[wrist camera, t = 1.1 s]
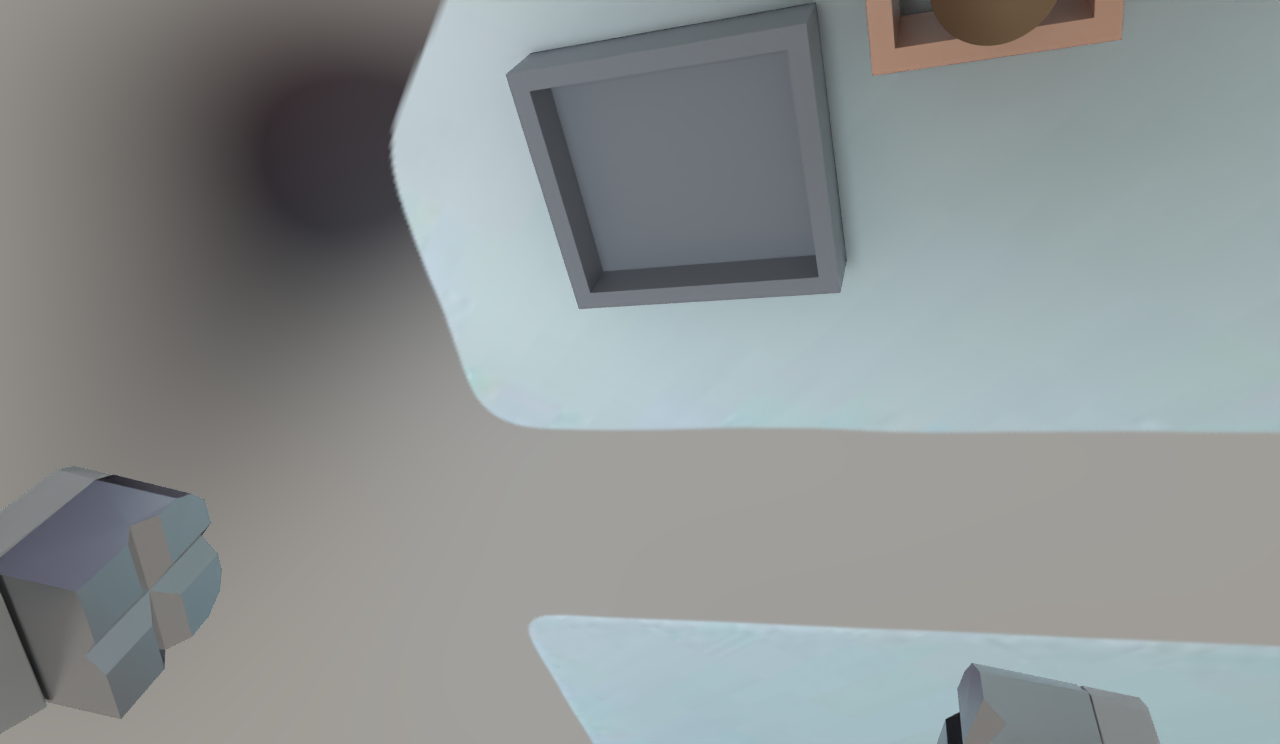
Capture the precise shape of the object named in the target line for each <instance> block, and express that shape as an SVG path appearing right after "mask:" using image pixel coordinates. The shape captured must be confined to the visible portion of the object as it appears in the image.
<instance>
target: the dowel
mask: <svg viewBox="0 0 1280 744" xmlns="http://www.w3.org/2000/svg"><path fill="white" fill-rule="evenodd" d="M1056 2H1057V0H931V4H932V8H933V11H934V13H935V16H936V17H937V19H938V21H939V22H940V24H941V25H942V26H943V27H944V29H945V30H946V31H948V32H949V33H950V34H951V35H953V36H954V37H956V38H957V39H959V40H961V41H963V42H966V43H969V44H973V45H979V46H993V45H1000V44H1005V43H1008V42H1011V41H1014V40H1016V39H1018V38H1020V37H1022V36H1024V35H1026V34H1027V33H1029V32H1030V31H1032V30H1033V29H1034V28H1036V27H1037V26H1038V25H1039V24H1040V23H1041V22H1042V21H1043V20H1044V19H1045V18H1046V17H1047V15H1048V14H1049V13H1050V12H1051V10H1052V9H1053V7H1054V6H1055V4H1056Z"/></svg>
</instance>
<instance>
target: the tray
mask: <svg viewBox="0 0 1280 744" xmlns="http://www.w3.org/2000/svg"><path fill="white" fill-rule="evenodd" d="M506 77H507V80H508V84H509V87H510V90H511V93H512V96H513V100H514V103H515V106H516V109H517V112H518V116H519V119H520V122H521V125H522V128H523V132H524V135H525V138H526V141H527V144H528V148H529V151H530V154H531V157H532V160H533V164H534V167H535V170H536V173H537V176H538V180H539V183H540V186H541V189H542V192H543V196H544V199H545V202H546V205H547V208H548V212H549V215H550V218H551V221H552V224H553V228H554V231H555V234H556V237H557V240H558V244H559V247H560V250H561V253H562V256H563V260H564V263H565V266H566V269H567V272H568V276H569V279H570V282H571V285H572V288H573V292H574V295H575V298H576V301H577V304H578V308H579V309H587V308H603V307H619V306H635V305H651V304H667V303H683V302H699V301H715V300H731V299H747V298H763V297H779V296H795V295H811V294H827V293H840V292H841V287H842V282H843V277H844V271H845V266H846V261H847V259H846V251H845V242H844V234H843V226H842V217H841V209H840V201H839V192H838V184H837V176H836V168H835V159H834V151H833V143H832V134H831V126H830V118H829V109H828V101H827V93H826V84H825V76H824V68H823V59H822V51H821V43H820V34H819V26H818V18H817V9H816V3H811V4H805V5H799V6H794V7H788V8H783V9H777V10H771V11H766V12H760V13H754V14H749V15H743V16H738V17H732V18H726V19H721V20H715V21H709V22H704V23H698V24H693V25H687V26H681V27H676V28H670V29H664V30H659V31H653V32H648V33H642V34H636V35H631V36H625V37H619V38H614V39H608V40H603V41H597V42H591V43H586V44H580V45H574V46H569V47H563V48H558V49H552V50H546V51H541V52H535V53H531V54H530V55H528V56H527V57H526V58H525V59H524V60H522V61H521V62H520V63H519V64H518V65H517V66H515V67H514V68H513V69H512V70H511V71H509V72H508V73H507V74H506Z"/></svg>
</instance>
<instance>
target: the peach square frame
mask: <svg viewBox="0 0 1280 744" xmlns="http://www.w3.org/2000/svg"><path fill="white" fill-rule="evenodd" d="M1123 8H1124V0H1057V2H1056V4H1055V6H1054V7H1053V9H1052V10H1051V12H1050V13H1049V14H1048V15H1047V17H1046V18H1045V19H1044V20H1043V21H1042V22H1041V23H1040V24H1039V25H1038V26H1037V27H1036V28H1034V29H1033V30H1032V31H1030V32H1029V33H1027V34H1026V35H1024V36H1022V37H1020V38H1018V39H1016V40H1014V41H1011V42H1008V43H1005V44H1000V45H993V46H979V45H973V44H969V43H966V42H963V41H961V40H959V39H957V38H956V37H954V36H953V35H951V34H950V33H949V32H948V31H946V30H945V29H944V27H943V26H942V25H941V24H940V22H939V21H938V19H937V17H936V16H935V13H934V11H928V12H922V13H916V14H910V15H904V16H900V3H899V0H866V9H867V20H868V31H869V42H870V53H871V64H872V75H873V76H875V75H882V74H888V73H895V72H902V71H909V70H916V69H923V68H930V67H936V66H943V65H950V64H957V63H964V62H971V61H978V60H985V59H991V58H998V57H1005V56H1012V55H1019V54H1026V53H1033V52H1040V51H1046V50H1053V49H1060V48H1067V47H1074V46H1081V45H1088V44H1095V43H1101V42H1108V41H1115V40H1122V25H1123Z"/></svg>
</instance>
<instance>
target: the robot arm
mask: <svg viewBox="0 0 1280 744" xmlns="http://www.w3.org/2000/svg"><path fill="white" fill-rule="evenodd" d="M210 524H211V521H210V517H209V514H208V510H207V507H206V503H205V500H204V499H202V498H200V497H198V496H195V495H193V494H191V493H187V492H182V491H178V490H174V489H170V488H166V487H162V486H158V485H154V484H150V483H145V482H142V481H138V480H134V479H130V478H126V477H121V476H118V475H110V474H106V473H102V472H98V471H94V470H89V469H85V468H81V467H78V466H70V467H66V468H62V469H58V470H55V471H54V472H52V473H51V474H50V475H48V476H47V477H46V478H44V479H43V480H42V481H41V482H39V483H38V484H36V485H35V486H34V487H33V488H31V489H30V490H28V491H27V492H26V493H24V494H23V495H22V496H20V497H19V498H18V499H17V500H15V501H14V502H13V503H11V504H10V505H9V506H7V507H6V508H5V509H3V510H2V511H1V512H0V734H1V733H2V732H4V731H6V730H8V729H9V728H11V727H13V726H14V725H16V724H18V723H20V722H21V721H23V720H25V719H27V718H28V717H30V716H32V715H34V714H35V713H37V712H39V711H40V710H42V709H44V708H46V706H47V704H46V702H49V703H53V704H58V705H62V706H67V707H71V708H76V709H79V710H84V711H88V712H93V713H97V714H102V715H106V716H110V717H115V718H119V719H122V717H123V716H124V715H125V714H126V713H127V712H128V711H129V709H130V708H131V707H132V706H133V705H134V704H135V702H136V701H137V700H138V699H139V698H140V697H141V695H142V694H143V693H144V692H145V691H146V690H147V689H148V687H149V686H150V685H151V684H152V683H153V682H154V680H155V679H156V678H157V677H158V676H159V675H160V673H161V672H162V671H163V670H164V669H165V649H168V648H170V647H171V646H174V645H176V644H178V643H180V642H182V641H184V640H186V639H188V638H190V637H192V636H193V635H194V634H195V632H196V631H197V630H198V629H199V628H200V626H201V625H202V624H203V622H204V621H205V620H206V619H207V618H208V617H209V615H210V612H211V610H212V608H213V605H214V603H215V601H216V598H217V596H218V594H219V591H220V583H221V565H220V560H219V556H218V553H217V552H216V551H215V550H214V548H213V547H212V546H211V545H210V544H209V543H208V542H207V541H206V539H205V538H204V537H203V536H202V535H203V533H204V532H205V531H206V529H207V528H208V527H209V525H210ZM958 700H959V710H960V712H958V713H957V714H955V715H953V716H951V717H949V718H947V719H945V722H944V725H943V728H942V731H941V734H940V736H939V739H938V742H937V744H1160V742H1159V739H1158V736H1157V733H1156V730H1155V727H1154V724H1153V721H1152V718H1151V715H1150V712H1149V709H1148V707H1147V706H1146V705H1145V704H1144V703H1143V702H1142V700H1141V699H1140V698H1138V697H1134V696H1129V695H1124V694H1119V693H1114V692H1110V691H1105V690H1100V689H1095V688H1090V687H1086V686H1081V687H1079V686H1077V685H1076V684H1071V683H1067V682H1062V681H1057V680H1052V679H1047V678H1042V677H1038V676H1033V675H1028V674H1023V673H1018V672H1014V671H1009V670H1004V669H999V668H994V667H989V666H985V665H980V664H975V663H972V664H971V665H970V666H969V667H968V668H967V669H966V670H965V672H964V674H963V677H962V679H961V682H960V684H959V686H958Z"/></svg>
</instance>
